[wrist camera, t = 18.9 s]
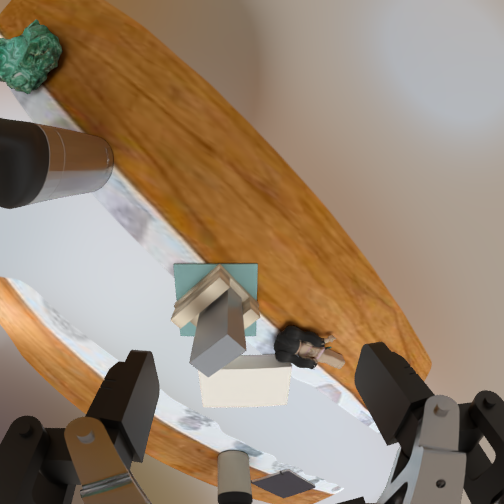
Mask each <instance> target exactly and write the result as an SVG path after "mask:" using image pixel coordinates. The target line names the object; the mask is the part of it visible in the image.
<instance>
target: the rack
mask: <svg viewBox="0 0 504 504" xmlns="http://www.w3.org/2000/svg"><path fill="white" fill-rule="evenodd" d="M230 287H231V288H232V289H233V290H234V291H235V292H236V293H237V294H238V295H239V296H240V297H241V298H242V309H243V320H244V330H245V329H246V328H247V327H249V326H250V325H251V324H253V323H254V322H255V321H256V320H258V319H259V318H260V314H259V309H258V307H259V304H258V302H257V301H256V300H255V299H254V298H253V297H252V296H251V295H250V294H249V293H248V292H247V291H246V290H245V289H244V288H243V287H242V286H241V285H240V284H239V283H238V282H237V281H236V280H235V278H234V277H233V276H232V275H231V274H230V273H229V272H228V271H227V270H226V269H225V268H224V267H223V266H222V265H221V264H218V265H217V266H216V267H215V268H214V269H213V270H212V271H210V272H209V273H208V274H207V275H206V276H205V277H204V278H203V279H201V280H200V281H199V282H198V283H197V284H196V285H195V286H194V287H192V288H191V289H190V290H189V291H188V292H187V293H186V294H185V295H183V296H182V297H181V298H180V299H179V300H178V301H177V302H176V303H175V305H174V307H175V310H174V312H173V315H172V318H171V321H172V322H173V323H174V324H176V325H177V326H178V327H179V328H180V329H181V328H182V327H183V326H185V325H186V324H187V323H188V322H189V321H190V322H191V323H192V324H193V325H195V326H196V327H197V322H198V317H199V313H200V312H201V311H203V310H204V309H205V308H206V307H207V306H209V305H210V304H211V303H212V302H213V301H214V300H216V299H217V298H218V297H219V296H220V295H222V294H223V293H224V292H225V291H226V290H228V289H229V288H230Z"/></svg>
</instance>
